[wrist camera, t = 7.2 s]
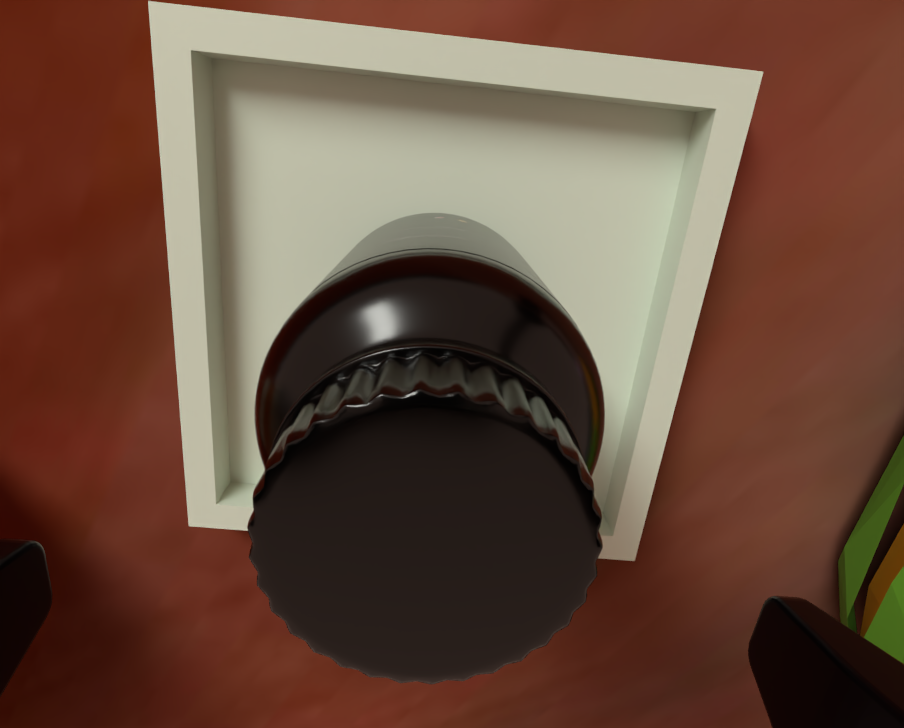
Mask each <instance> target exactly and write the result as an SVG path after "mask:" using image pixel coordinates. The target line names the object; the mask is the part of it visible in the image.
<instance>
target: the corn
mask: <svg viewBox="0 0 904 728" xmlns="http://www.w3.org/2000/svg"><path fill="white" fill-rule="evenodd" d="M903 485H904V436H903V438H902V439H901V441H900V443H899V445H898V447H897V449H896V451H895V453H894V455H893V456H892V458H891V460H890V462H889V464H888V466H887V468H886V470H885V471H884V473H883V475H882V477H881V479H880V481H879V483H878V485H877V486H876V488H875V490H874V492H873V494H872V496H871V498H870V500H869V502H868V503H867V505H866V507H865V509H864V511H863V513H862V515H861V517H860V518H859V520H858V522H857V524H856V526H855V528H854V530H853V532H852V533H851V535H850V537H849V539H848V541H847V543H846V545H845V547H844V549H843V551H842V553H841V556H840V558H839V560H838V575H839V602H840V620H841V623H842V624H844V625H845V626H847V627H848V628H850V629H851V630H853V631H854V632H856V633H857V627H856V619H855V610H854V601H855V599H856V596H857V594H858V592H859V589H860V587H861V585H862V582H863V580H864V577H865V575H866V573H867V570H868V568H869V566H870V563H871V561H872V559H873V556H874V554H875V551H876V549H877V547H878V544H879V542H880V540H881V537H882V535H883V532H884V530H885V528H886V525H887V523H888V521H889V518H890V516H891V514H892V511H893V509H894V506H895V504H896V502H897V499H898V497H899V495H900V492H901V490H902V488H903ZM860 635H861V636H862V637H864V638H865V639H867V640H868V641H870V642H871V643H873V644H874V645H876V646H877V647H879V648H880V649H882V650H883V651H885V652H886V653H888V654H889V655H891V656H892V657H894V658H896V659H897V660H899V661H900V662H902V663H903V664H904V524H903V526H902V528H901V529H900V531H899V533H898V535H897V536H896V538H895V540H894V542H893V543H892V545H891V547H890V549H889V551H888V552H887V554H886V556H885V558H884V559H883V561H882V563H881V565H880V567H879V568H878V570H877V572H876V574H875V575H874V577H873V579H872V581H871V583H870V584H869V587H868V593H867V598H866V604H865V609H864V615H863V620H862V626H861V632H860Z"/></svg>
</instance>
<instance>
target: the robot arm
mask: <svg viewBox="0 0 904 728" xmlns="http://www.w3.org/2000/svg"><path fill="white" fill-rule="evenodd" d="M51 603H52V588H51V583H50V578H49V572H48V567H47V562H46V556H45V551H44V548H43V547H42V545H41V544H40V543H39V542H36V541H33V540H21V539H0V697H1V695H2V693H3V692H4V690H5V688H6V686H7V685H8V683H9V681H10V679H11V678H12V676H13V674H14V673H15V671H16V669H17V667H18V666H19V664H20V662H21V660H22V659H23V657H24V655H25V654H26V652H27V650H28V648H29V647H30V645H31V643H32V641H33V640H34V638H35V636H36V634H37V633H38V631H39V629H40V628H41V626H42V624H43V622H44V621H45V619H46V617H47V615H48V613H49V610H50V608H51ZM748 656H749V662H750V666H751V669H752V672H753V674H754V677H755V680H756V683H757V686H758V688H759V691H760V694H761V697H762V700H763V702H764V705H765V708H766V711H767V714H768V716H769V719H770V722H771V725H772V728H904V664H903V663H902V662H900V661H899V660H897V659H896V658H894V657H892V656H891V655H889V654H888V653H886V652H885V651H883V650H882V649H880V648H879V647H877V646H876V645H874V644H873V643H871V642H870V641H868V640H867V639H865V638H864V637H862V636H861V635H859V634H857V633H856V632H854V631H853V630H851V629H850V628H848V627H847V626H845V625H844V624H842V623H841V622H839V621H838V620H836V619H835V618H833V617H832V616H830V615H829V614H827V613H826V612H824V611H822V610H821V609H819V608H818V607H816V606H815V605H813V604H812V603H810V602H809V601H807V600H805V599H802V598H797V597H783V596H772V597H769V598H768V599H767V600H766V601H765V602H764V604H763V607H762V609H761V612H760V615H759V617H758V620H757V623H756V626H755V628H754V631H753V634H752V636H751V639H750V642H749V648H748Z"/></svg>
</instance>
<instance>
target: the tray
mask: <svg viewBox="0 0 904 728" xmlns="http://www.w3.org/2000/svg"><path fill="white" fill-rule="evenodd" d="M148 6H149V19H150V32H151V45H152V58H153V71H154V84H155V97H156V110H157V123H158V135H159V148H160V161H161V174H162V187H163V200H164V213H165V226H166V239H167V252H168V265H169V278H170V290H171V303H172V316H173V329H174V342H175V355H176V368H177V381H178V394H179V407H180V420H181V433H182V446H183V458H184V471H185V484H186V497H187V510H188V523H189V526H194V527H207V528H220V529H232V530H245V531H248V529H247V526H248V521H249V518H250V516H251V514H252V512H253V510H254V509H253V499H252V498H253V492H254V489H255V487H256V485H257V483H258V481H259V480H260V478H261V476H262V474H263V472H264V471H265V469H264V466H263V463H262V460H261V457H260V454H259V449H258V444H257V439H256V432H255V422H254V408H255V397H256V389H257V384H258V379H259V375H260V371H261V368H262V365H263V362H264V360H265V357H266V354H267V352H268V350H269V348H270V346H271V344H272V342H273V340H274V338H275V337H276V335H277V334H278V332H279V331H280V329H281V327H282V326H283V324H284V323H285V321H286V320H287V319H288V318H289V316H290V315H291V314H292V313H293V311H294V310H295V309H296V308H297V307H298V305H299V304H300V303H301V302H302V301H303V300H304V299H305V298H306V297H307V296H308V295H309V294H310V293H311V292H312V291H313V290H314V288H315V287H316V286H317V285H318V284H319V283H320V282H321V281H322V280H323V279H324V278H325V277H326V276H327V275H328V274H329V273H330V272H331V271H332V270H333V269H334V268H335V267H336V266H337V265H338V263H339V262H340V261H341V260H342V259H343V258H344V257H345V256H346V255H347V254H348V253H349V252H350V251H351V250H352V249H353V248H354V247H355V246H356V245H357V244H358V243H359V242H360V241H361V240H362V239H364V238H365V237H366V236H367V235H369V234H370V233H371V232H373V231H374V230H376V229H377V228H379V227H381V226H383V225H385V224H387V223H389V222H391V221H394V220H396V219H399V218H402V217H406V216H410V215H415V214H422V213H446V214H453V215H458V216H462V217H466V218H468V219H471V220H474V221H477V222H479V223H481V224H483V225H485V226H487V227H489V228H490V229H492V230H494V231H495V232H496V233H498V234H499V235H500V236H502V237H503V238H504V239H505V240H506V241H508V242H509V243H510V244H511V245H512V246H513V247H514V248H515V249H516V250H517V251H518V252H519V254H520V255H521V256H522V257H523V258H524V259H525V261H526V262H527V263H528V264H529V265H530V267H531V268H532V269H533V270H534V272H535V273H536V274H537V275H538V276H539V278H540V279H541V280H542V281H543V283H544V284H545V285H546V286H547V287H548V289H549V290H550V291H551V292H552V294H553V295H554V296H555V297H556V298H557V300H558V301H559V302H560V303H561V305H562V306H563V307H564V308H565V310H566V311H567V312H568V314H569V315H570V316H571V318H572V319H573V321H574V322H575V323H576V325H577V326H578V328H579V330H580V331H581V333H582V335H583V337H584V338H585V340H586V342H587V344H588V346H589V348H590V350H591V352H592V355H593V357H594V359H595V361H596V364H597V367H598V371H599V374H600V377H601V382H602V387H603V392H604V403H605V429H604V436H603V443H602V447H601V451H600V455H599V459H598V462H597V465H596V468H595V470H594V473H593V476H592V480H593V483H594V495H595V497H596V500H597V502H598V504H599V506H600V509H601V513H602V520H601V525H600V529H599V533H600V535H601V538H602V543H603V548H602V550H601V553H600V555H599V557H598V558H601V559H614V560H627V561H635V558H636V554H637V550H638V546H639V543H640V539H641V535H642V531H643V527H644V524H645V520H646V516H647V512H648V508H649V505H650V501H651V497H652V493H653V489H654V486H655V482H656V478H657V474H658V470H659V467H660V463H661V459H662V455H663V451H664V448H665V444H666V440H667V436H668V432H669V429H670V425H671V421H672V417H673V413H674V410H675V406H676V402H677V398H678V394H679V391H680V387H681V383H682V379H683V375H684V372H685V368H686V364H687V360H688V356H689V353H690V349H691V345H692V341H693V337H694V334H695V330H696V326H697V322H698V318H699V315H700V311H701V307H702V303H703V299H704V296H705V292H706V288H707V284H708V280H709V277H710V273H711V269H712V265H713V261H714V258H715V254H716V250H717V246H718V242H719V239H720V235H721V231H722V227H723V223H724V220H725V216H726V212H727V208H728V204H729V201H730V197H731V193H732V189H733V185H734V182H735V178H736V174H737V170H738V166H739V163H740V159H741V155H742V151H743V147H744V144H745V140H746V136H747V132H748V128H749V125H750V121H751V117H752V113H753V109H754V106H755V102H756V98H757V94H758V90H759V87H760V83H761V79H762V75H763V72H762V71H753V70H744V69H736V68H727V67H718V66H709V65H701V64H692V63H683V62H675V61H666V60H657V59H648V58H640V57H631V56H622V55H614V54H605V53H596V52H588V51H579V50H570V49H561V48H553V47H544V46H535V45H527V44H518V43H509V42H500V41H492V40H483V39H474V38H466V37H457V36H448V35H439V34H431V33H422V32H413V31H405V30H396V29H387V28H379V27H370V26H361V25H352V24H344V23H335V22H326V21H318V20H309V19H300V18H291V17H283V16H274V15H265V14H257V13H248V12H239V11H230V10H222V9H213V8H204V7H196V6H187V5H178V4H169V3H161V2H152V1H148Z"/></svg>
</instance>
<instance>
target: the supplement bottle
mask: <svg viewBox="0 0 904 728" xmlns="http://www.w3.org/2000/svg"><path fill="white" fill-rule="evenodd" d="M254 422H255V432H256V439H257V444H258V449H259V454H260V457H261V460H262V463H263V466H264V469H265V471H264V472H263V474H262V476H261V478H260V480H259V481H258V483H257V485H256V487H255V489H254V492H253V498H252V499H253V509H254V510H253V512H252V514H251V516H250V518H249V521H248V526H247V529H248V532H249V535H250V538H251V540H252V545H251V549H250V554H249V558H250V560H251V562H252V564H253V565H254V567H255V568H256V570H257V571H258V575H257V586H258V587H259V588H260V589H261V590H262V591H263V592H264V594H265V595H266V596H267V597H268V598H269V605H270V608H271V611H272V612H273V613H275V614H276V615H277V616H279V617H280V618H281V619H283V620H284V621H285V623H286V625H287V628H288V630H289V632H290V633H291V634H293V635H295V636H296V637H298V638H300V639H302V640H304V641H306V643H307V644H308V645H309V647H310V648H311V649H312V650H313V652H315V653H318V654H321V655H324V656H327V657H330V658H331V659H333V660H334V661H335V662H336V663H337V664H338V665H339V666H340V667H345V668H351V669H357V670H359V671H361V672H362V673H363V674H365V675H367V676H369V677H386V678H389V679H392V680H394V681H396V682H399V683H406V682H413V681H418V682H423V683H428V684H435V683H439V682H442V681H446V680H454V681H464V680H467V679H469V678H471V677H473V676H475V675H479V674H491V673H494V672H496V671H497V670H499V669H500V668H502V667H503V666H504V665H507V664H511V663H516V662H520V661H522V660H523V659H524V658H525V657H526V656H527V655H528V654H529V653H530V652H531V651H533V650H535V649H538V648H541V647H543V646H545V645H547V644H548V642H549V641H550V640H551V638H552V636H553V635H554V633H556V632H558V631H559V630H562V629H563V628H565V627H566V626H568V625H569V623H570V621H571V618H572V615H573V612H575V611H576V610H577V609H578V608H580V607H581V606H582V605H583V604H584V603H585V602H586V597H587V588H588V587H589V586H590V584H591V583H592V582H593V581H594V579H595V578H596V577H597V566H596V560H597V558H598V557H599V555H600V553H601V550H602V548H603V543H602V538H601V535H600V533H599V529H600V525H601V520H602V513H601V509H600V506H599V504H598V502H597V500H596V497H595V495H594V483H593V480H592V476H593V473H594V470H595V468H596V465H597V462H598V459H599V455H600V451H601V447H602V443H603V436H604V429H605V403H604V392H603V387H602V382H601V377H600V374H599V371H598V367H597V364H596V361H595V359H594V357H593V355H592V352H591V350H590V348H589V346H588V344H587V342H586V340H585V338H584V337H583V335H582V333H581V331H580V330H579V328H578V326H577V325H576V323H575V322H574V321H573V319H572V318H571V316H570V315H569V314H568V312H567V311H566V310H565V308H564V307H563V306H562V305H561V303H560V302H559V301H558V300H557V298H556V297H555V296H554V295H553V294H552V292H551V291H550V290H549V289H548V287H547V286H546V285H545V284H544V283H543V281H542V280H541V279H540V278H539V276H538V275H537V274H536V273H535V272H534V270H533V269H532V268H531V267H530V265H529V264H528V263H527V262H526V261H525V259H524V258H523V257H522V256H521V255H520V254H519V252H518V251H517V250H516V249H515V248H514V247H513V246H512V245H511V244H510V243H509V242H508V241H506V240H505V239H504V238H503V237H502V236H500V235H499V234H498V233H496V232H495V231H494V230H492V229H490V228H489V227H487V226H485V225H483V224H481V223H479V222H477V221H474V220H471V219H468V218H466V217H462V216H458V215H453V214H446V213H422V214H415V215H410V216H406V217H402V218H399V219H396V220H394V221H391V222H389V223H387V224H385V225H383V226H381V227H379V228H377V229H376V230H374V231H373V232H371V233H370V234H369V235H367V236H366V237H365V238H364V239H362V240H361V241H360V242H359V243H358V244H357V245H356V246H355V247H354V248H353V249H352V250H351V251H350V252H349V253H348V254H347V255H346V256H345V257H344V258H343V259H342V260H341V261H340V262H339V263H338V265H337V266H336V267H335V268H334V269H333V270H332V271H331V272H330V273H329V274H328V275H327V276H326V277H325V278H324V279H323V280H322V281H321V282H320V283H319V284H318V285H317V286H316V287H315V288H314V290H313V291H312V292H311V293H310V294H309V295H308V296H307V297H306V298H305V299H304V300H303V301H302V302H301V303H300V304H299V305H298V307H297V308H296V309H295V310H294V311H293V313H292V314H291V315H290V316H289V318H288V319H287V320H286V321H285V323H284V324H283V326H282V327H281V329H280V331H279V332H278V334H277V335H276V337H275V338H274V340H273V342H272V344H271V346H270V348H269V350H268V352H267V354H266V357H265V360H264V362H263V365H262V368H261V371H260V375H259V379H258V384H257V389H256V397H255V408H254Z"/></svg>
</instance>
